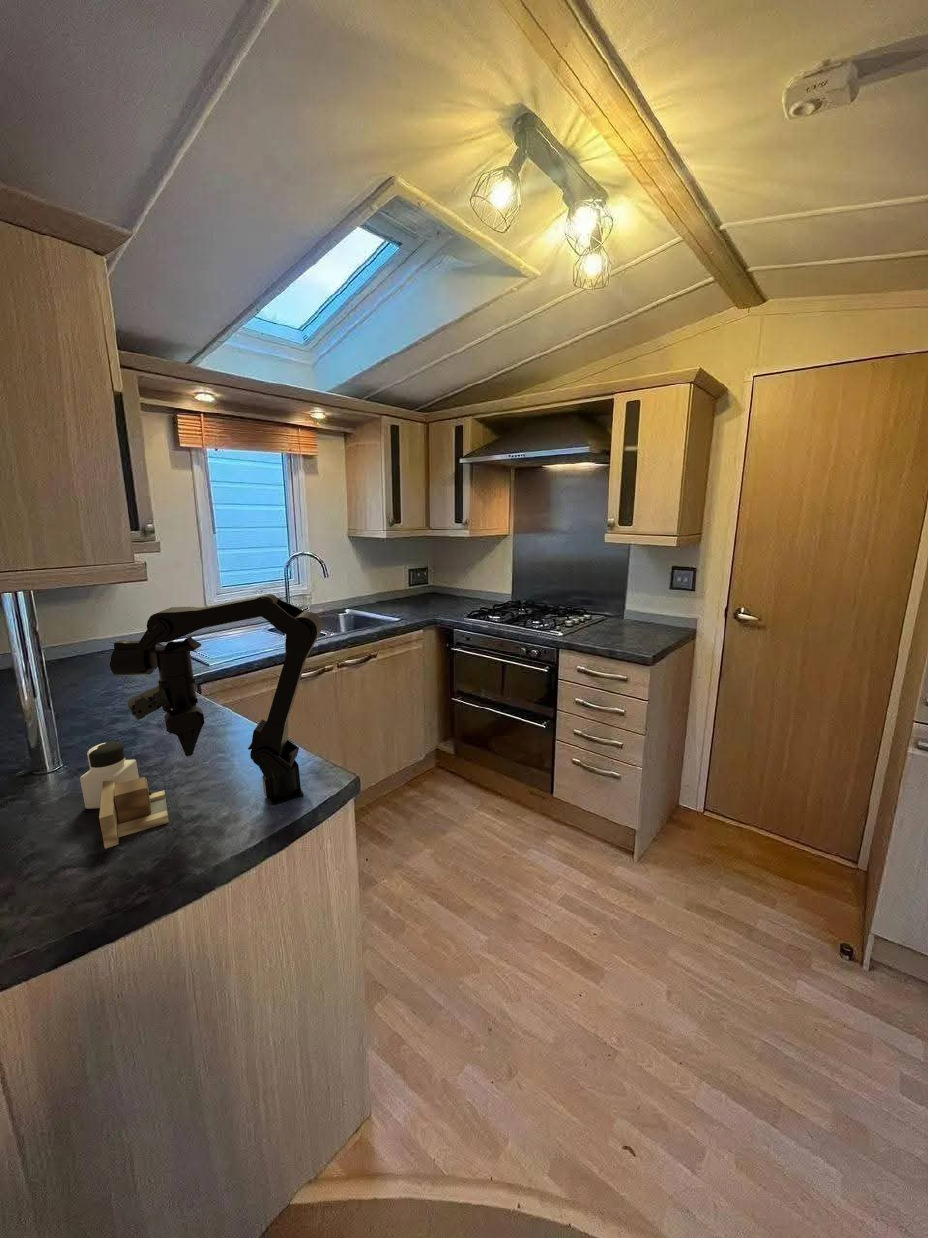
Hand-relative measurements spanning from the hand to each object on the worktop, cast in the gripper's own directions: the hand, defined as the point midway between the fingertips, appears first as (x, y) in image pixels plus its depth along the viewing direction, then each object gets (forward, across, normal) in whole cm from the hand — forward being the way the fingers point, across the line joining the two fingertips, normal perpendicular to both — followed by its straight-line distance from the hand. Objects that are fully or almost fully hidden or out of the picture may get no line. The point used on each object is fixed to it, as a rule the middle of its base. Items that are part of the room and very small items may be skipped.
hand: (186, 747), depth 101 cm
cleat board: (+12, 0, -10) cm, 16 cm away
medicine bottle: (+12, -11, -14) cm, 22 cm away
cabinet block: (+11, 0, -10) cm, 15 cm away
